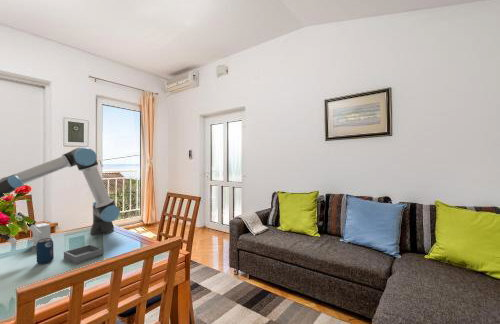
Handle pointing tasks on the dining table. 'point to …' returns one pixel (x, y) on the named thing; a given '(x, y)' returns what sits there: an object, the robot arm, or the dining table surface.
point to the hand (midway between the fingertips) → (27, 238)
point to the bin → (83, 253)
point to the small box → (42, 233)
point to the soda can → (44, 251)
